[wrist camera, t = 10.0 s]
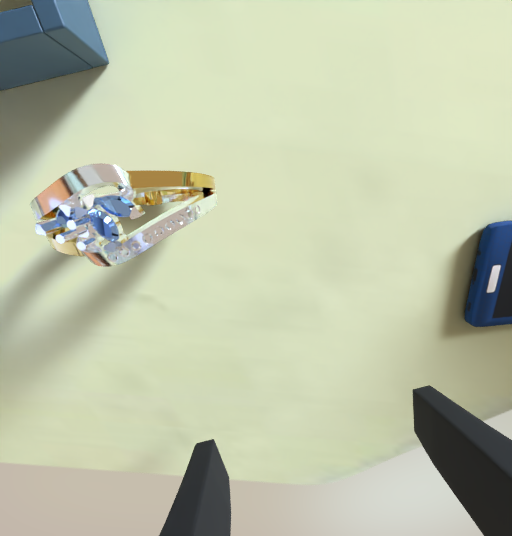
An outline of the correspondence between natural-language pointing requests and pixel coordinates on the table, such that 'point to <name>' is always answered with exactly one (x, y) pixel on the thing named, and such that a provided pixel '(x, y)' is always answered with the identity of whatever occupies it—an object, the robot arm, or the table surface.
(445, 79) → the table surface
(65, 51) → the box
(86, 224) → the ring
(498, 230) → the cell phone
